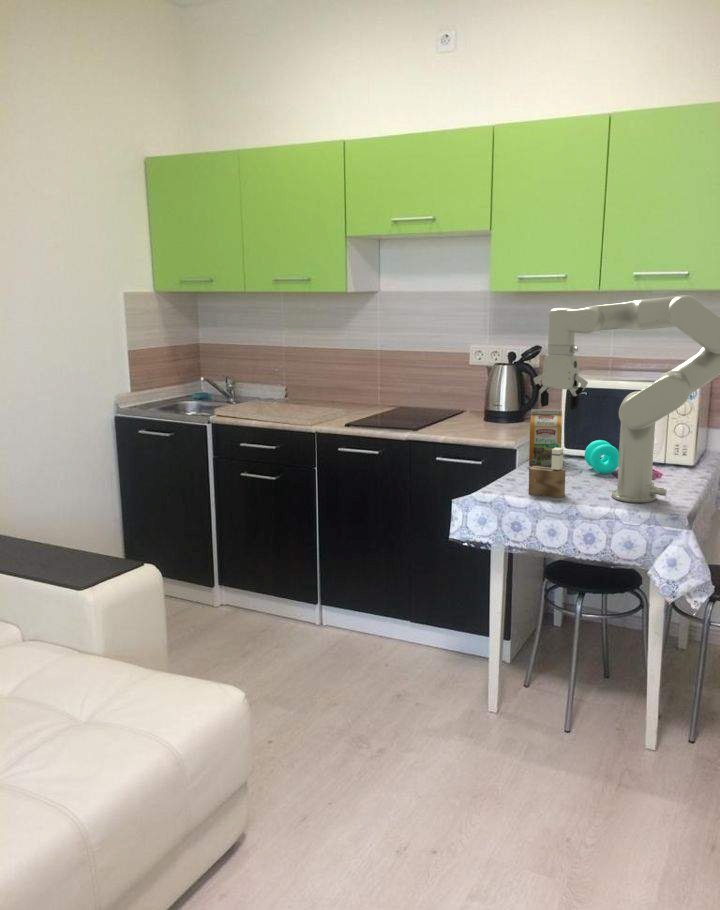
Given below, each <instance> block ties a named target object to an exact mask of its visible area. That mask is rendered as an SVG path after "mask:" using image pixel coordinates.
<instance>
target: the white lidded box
mask: <svg viewBox="0 0 720 910" xmlns="http://www.w3.org/2000/svg"><path fill="white" fill-rule="evenodd" d="M563 461H564V448H563V447H561V448H556V447H555V448H554V449H552V464H551V466H550V468H551V469H556V470H560V469H564V468H563V466H564V465H563V464H564V463H563Z"/></svg>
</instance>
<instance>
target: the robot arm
mask: <svg viewBox="0 0 720 910" xmlns="http://www.w3.org/2000/svg"><path fill="white" fill-rule="evenodd" d="M665 328H677V329H679V331H681V332H682V333H683V334H685V335H686V336H687V337H689V338H690V339H691V340H693V341H694V342H696V343H697V344H698V345H700V346H701V348H700V350H699V351H698V352H697V353H696V354H694V355H692V356H690V358H687V360H685V361H684V362H682V363H680V364H679V365H678V366H675V367H673V368H672V369H670V370H669V371H666V372H664V373H662V374H661V375H659V377H658V378H657V379H656V381H654V382H652V383H651V384H650V385H648V386H646V387H644V388H643V389H641V390H639V391H638V390H636V391H633V392H630V393H629V394H627V395H626V396H625V397H624V398H623V400H622V402H621V404H620V406H619V409H618V418H619V422H620V428H619V429H620V430H619V445H618V451H619V464H618V467H617V469H618V471H617V489H613V491H611V497H612V498H613V499H614V500H618V501H621V502H627V503H636V504H637V503H639V504H640V503H642V504H643V503H649V502H654V501H655V500H657V495H659V496H664V497H667V492H668V491H667V489H666V488H665V487H658V486H656V485H655V481H653V465H654V464H653V463H654V446H655V431H656V422H658V421H660V420H661V419H663V418H665V417H666V416H668V415H669V414H671V413H673V412H675V411H676V410H678V409H679V408H680V407H682V406H683V405H684V404H686V403H687V402H688V399H689V397H690V395H692V394H693V393H695V392H696V391H698V390H699V389H701V388H703V387H704V386H705V385H707V384H708V383H709V382H711V381H713V380H715V379H716V378H717V377H718V376H720V316H718V315H717V314H716V313H714V312H712V311H711V310H710V309H709V308H708V307H706V306H705V305H704V304H702V303H701V302H700V301H699V299H698V298H697V297H695V296H693V295H690V294H688V295H687V294H681V295H673V296H663V297H654V298H643V299H636V300H632V301H627V302H619V303H611V304H610V303H609V304H600V305H591V306H585V307H584V308H582V307H581V308H577V309H576V308H575V309H573V308H572V307H556V308H552V309H551V310H550V311H549V314H548V333H547V334H548V336H547V337H548V339H547V340H548V342H547V354H546V355H545V357H544V361H543V368H542V373H541V374H539V375H537V376H535V377H533V382H534V385H535V388H536V389H537V390H538V392H539V394H540V403H541V405H540V406H541V407H547V406H549V401H550V400H549V396H550V394H549V392H548V391H549V390H550V389H558V390H559V389H561V390H569V391H570V393H571V394H572V395H571V396H570V407H569V408H570V410H576V409H578V406H579V399H580V398H579V397H580V396H581V395H582V393H583V392H584V391H585V389H586V388H587V386H588V381H587V380H586V379H585V378H583V377H581V376H580V372H579V371H580V369H579V360H578V356H577V354H575V352H576V353H577V352H578V351H579V348H578V347H577V346H576V345H575V336H576V335H575V333H577V334H583V335H590V334H593V333H595V332H601V331H609V330H633V331H645V330H646V331H647V330H656V329H665ZM541 381H542V383H541ZM579 384H580V386H579Z"/></svg>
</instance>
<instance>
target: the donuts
mask: <svg viewBox="0 0 720 910" xmlns="http://www.w3.org/2000/svg"><path fill="white" fill-rule="evenodd" d="M602 456H603V457H602ZM601 457H602V458H601ZM584 460H585V462H586V464H587V465H588V466H590V467H591V468H592V469H593V470H594V471H595V472H596V473H598V474H602V475H608V474H611V473H613V472H615V471H616V470H617V469H618V464H619V449H617V448H616V447H615V446H613V445H612V444H611V443H610V442H608V441H606V440H603V439H598V440H597V439H596V440H594V441H591V442H590V443H589V444H588V445H587V446H586V448H585V451H584Z"/></svg>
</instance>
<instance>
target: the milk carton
mask: <svg viewBox="0 0 720 910" xmlns="http://www.w3.org/2000/svg"><path fill="white" fill-rule="evenodd" d="M529 422H530V423H529V453H528V454H529V455H528V456H529V458H528V466H530V467H533V466H540V467H551V464H552V449H554V448H555V447H556V448H562V440H563V439H562V438H563V437H562V433H563V427H562V426H563V410H562V409H531V411H530V421H529Z"/></svg>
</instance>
